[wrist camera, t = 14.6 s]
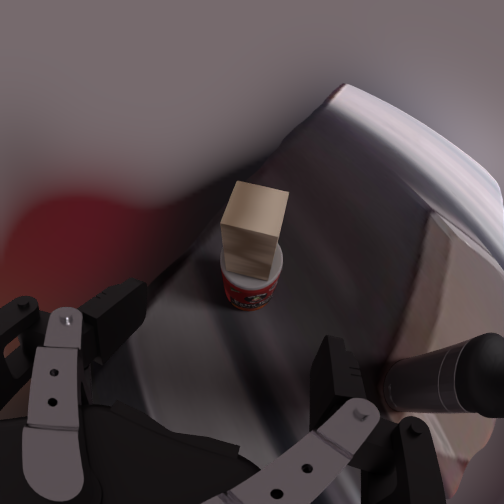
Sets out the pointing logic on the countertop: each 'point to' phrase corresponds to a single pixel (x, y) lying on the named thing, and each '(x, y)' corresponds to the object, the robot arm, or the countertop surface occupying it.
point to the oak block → (252, 229)
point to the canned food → (251, 285)
